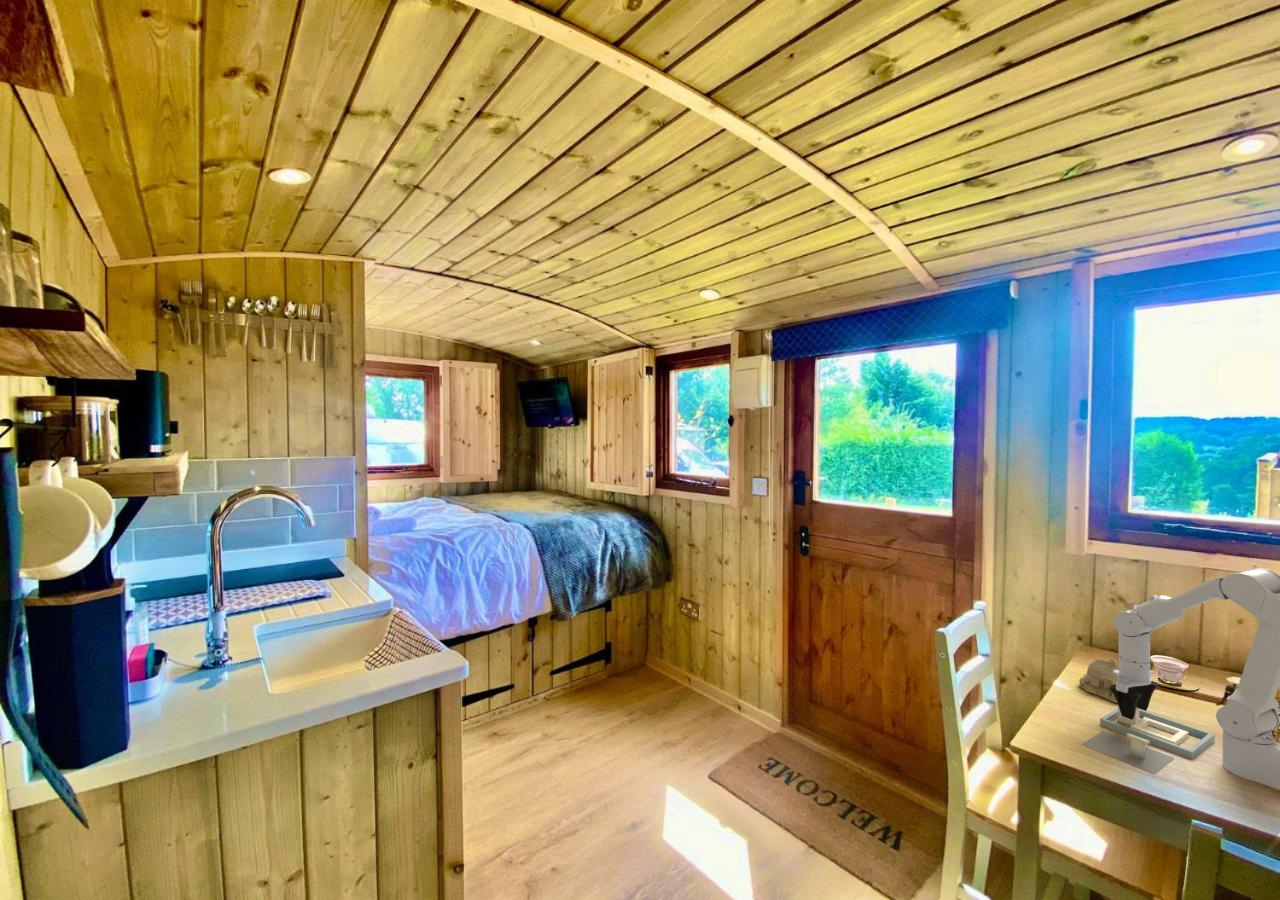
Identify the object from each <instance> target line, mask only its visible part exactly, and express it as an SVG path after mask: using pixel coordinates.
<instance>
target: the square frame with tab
mask: <svg viewBox="0 0 1280 900" xmlns="http://www.w3.org/2000/svg"><path fill="white" fill-rule="evenodd" d="M1117 708H1118V718H1117V721H1118V722H1121V723H1123V724H1126V725H1128V726H1130V728H1131V729H1134V730H1137V731H1139V732H1142V733H1145V734H1148V735H1150V736H1153V737H1156V738H1159V739H1161V740H1164V741H1167V742H1170V743H1172V744H1175V745H1178V746H1179V745H1180V744H1181V743H1183V742H1184V741H1185V740H1186V739H1188V738H1189V736H1190V735H1189V732H1187V731H1184V730H1181V729H1178V728H1175V727H1172V726H1170V725H1167V724H1164V723H1161V722H1158V721H1155V720H1152V719H1149V718H1146V717H1144V718H1142V719H1141V718H1139V708H1137V707H1136V711H1135V716H1134V718H1133V719H1129V718H1126V717H1123V716H1122V715H1121V712H1120V709H1119V705H1118V704H1117ZM1149 726H1151V727H1153V728H1156V729H1159V730H1162V731H1164V732H1167V733H1170V734H1173V735H1172V736H1171V737H1168V736H1165V735H1162V734H1159V733H1158V732H1157V733H1156V732H1154V731H1152V730H1148V729H1146V728H1147V727H1149Z"/></svg>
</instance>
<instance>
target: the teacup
mask: <svg viewBox="0 0 1280 900" xmlns="http://www.w3.org/2000/svg"><path fill="white" fill-rule="evenodd" d="M1150 662H1151V663H1152V664H1153V665H1154V667H1155V670H1156V671H1155V672H1156V675H1157V677H1159V678H1160V679H1159V680H1161V679H1162V680H1165V681H1170V682H1178V683H1180V682H1181V681H1182V678H1183V677H1184V678H1185V670H1187V669H1188V668H1189V664H1188V663H1186V662H1185V661H1183V660H1180V659H1178V658H1174V657H1171V656H1167V655H1166V656H1165V655H1156V654H1155V655H1150ZM1151 671H1152V670H1151ZM1152 672H1154V670H1153V671H1152Z"/></svg>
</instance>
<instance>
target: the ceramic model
mask: <svg viewBox="0 0 1280 900" xmlns="http://www.w3.org/2000/svg"><path fill="white" fill-rule="evenodd" d="M1114 670H1119V662H1117V661H1116V659H1114V658H1109V659H1108V660H1107V659H1104V658H1103V659H1102V658H1097V659H1096V660H1092V661H1091V662H1090V663H1089V665H1088V667H1087V671H1086V673H1085V674H1083V676H1082V677H1080V678H1079V684H1080V688H1081V689H1082V690H1084V691H1086V692H1088V693H1091V694H1093V695H1097V696H1099V697H1102V698H1103V699H1106V700H1109V702H1110V701H1111V702H1113V703H1115V704H1118V702H1117V700H1116V698H1115V696H1114V694H1113V693H1112V691H1111V689H1110V686H1111V685H1113V684H1115V685H1116V682H1117V681H1118V676H1117V675H1114V674H1113V671H1114Z"/></svg>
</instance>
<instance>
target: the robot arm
mask: <svg viewBox="0 0 1280 900" xmlns="http://www.w3.org/2000/svg"><path fill="white" fill-rule="evenodd" d="M1214 599H1218V600H1222V601H1226V600H1231V601H1232V602H1233V603H1235V604H1237V606H1240V607H1241V608H1242V609H1244V610H1246V611H1248V613H1250V614H1252V616H1253V617H1254V618H1255V619H1256V620H1257V621H1258V626H1257V629H1256V632H1255V635H1254V638H1253V641H1252V644H1251V647H1250V650H1249V653H1248V656H1247V659H1246V661H1245V665H1244V667H1243V670H1242V674H1241V676H1240V679H1239V682H1238V685H1237V687H1236V689H1235V690H1234V692H1233V693H1232V694H1231V695H1230V696H1229V697H1228V699H1227V701H1226V703H1225V704H1224V705H1223V706H1221V707H1219V708H1218V709H1217V710H1216V713H1215V717H1216V721H1217V723H1218V725H1219V726H1220V727H1221V729H1222V767H1223V768H1224V769H1225V770H1226V771H1228V772H1230V773H1232V774H1234V775H1235V776H1237V777H1240V778H1242V779H1245V780H1249V781H1253V782H1256V783H1258V784H1262V785H1264V786H1268V787H1270V788H1273V789H1275V790H1278V791H1280V743H1279V742H1276V741H1275V738H1274V736H1273V735H1274V734H1273V731H1274V730H1276V729H1277V728H1278V727H1279V726H1280V715H1279V713H1278V708H1279V706H1280V704H1279V702H1278V700H1276V699H1275V698H1276V696H1277V693H1278V691H1279V688H1280V574H1278V573H1276V572H1275V571H1274V570H1271V569H1267V568H1263V567H1259V568H1258V567H1257V568H1256V567H1255V568H1252V569H1248V570H1246V571H1240V572H1233V573H1229V574H1226V575H1224V576H1220V577H1216V578H1212V579H1209V580H1206V581H1205V582H1201V583H1200V584H1198V585H1196V586H1193V587H1191V588H1190V589H1187V590H1185V591H1183V592H1181V593H1178V594H1177V595H1175V596H1168V595H1157V594H1155V595H1150V596H1149V597H1148V600H1147V601H1146V602H1143V603H1140V604H1139V605H1138V604H1133V605H1131V606H1130V608H1131V609H1128V610H1120V611H1119V612H1117V613H1116V614H1114V616H1113V619H1112V621H1113V625H1114V628H1115V629H1116V630H1117V631H1118V663H1119V670H1114V671H1113V674H1114V675H1117V676H1118V681H1117V682H1116V685H1115V684H1113V685H1111V686H1110V689H1111V691H1112V693H1113V694H1114V696H1115V698H1116V700H1117V702H1118V703H1117V706H1118V705H1119V709H1120V712H1121V715H1122V716H1123V717H1126V718H1129V719H1133V718H1134V716H1135V711H1136V707H1137V708H1139V709H1141V710H1144V711H1148V708H1149V705H1150V702H1151V698H1152V696H1153V694H1154V692H1155V691H1156V689H1157V688H1158V687H1159V686H1158V683H1157V682H1154V681H1151V678H1152V670H1151V659H1150V657H1151V634H1152V633H1153V632H1154V631H1155V630H1156V629H1158V628H1161V627H1163V626H1165V625H1168V624H1171V623H1174V622H1176V621H1178V620H1179V621H1180V620H1181V619H1183V617H1184V615H1185V610H1188V609H1190V608H1193V607H1196V606H1199V605H1201V604H1204V603H1207V602H1210V601H1214ZM1272 730H1273V731H1272Z"/></svg>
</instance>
